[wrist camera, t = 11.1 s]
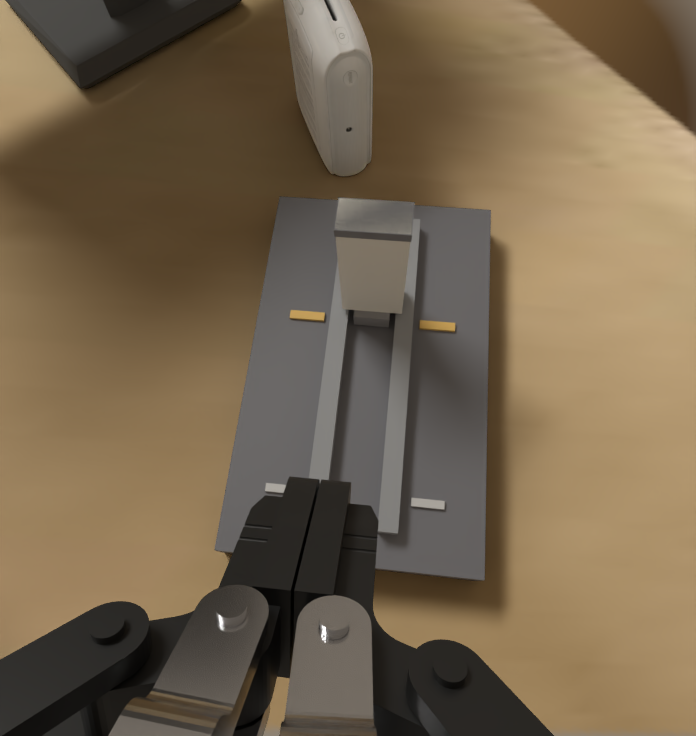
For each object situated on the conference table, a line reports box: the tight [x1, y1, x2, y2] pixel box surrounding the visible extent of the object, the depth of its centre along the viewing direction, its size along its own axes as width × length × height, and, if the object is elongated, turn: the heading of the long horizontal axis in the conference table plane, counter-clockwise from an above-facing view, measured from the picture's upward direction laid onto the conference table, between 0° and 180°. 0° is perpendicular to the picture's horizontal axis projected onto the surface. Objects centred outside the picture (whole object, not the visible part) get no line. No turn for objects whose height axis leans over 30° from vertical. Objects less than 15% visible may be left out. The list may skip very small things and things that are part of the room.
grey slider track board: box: [215, 196, 491, 581], centre depth 38 cm, size 16×26×4 cm, turn 174°
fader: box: [334, 197, 415, 327], centre depth 34 cm, size 4×3×10 cm
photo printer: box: [283, 0, 373, 176], centre depth 43 cm, size 10×4×12 cm, turn 20°
